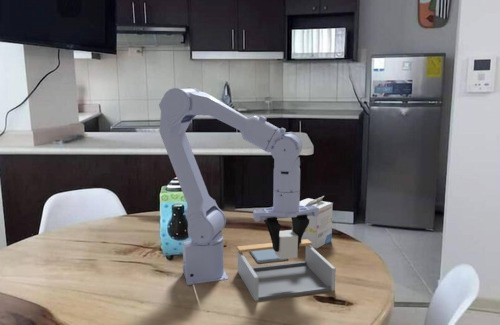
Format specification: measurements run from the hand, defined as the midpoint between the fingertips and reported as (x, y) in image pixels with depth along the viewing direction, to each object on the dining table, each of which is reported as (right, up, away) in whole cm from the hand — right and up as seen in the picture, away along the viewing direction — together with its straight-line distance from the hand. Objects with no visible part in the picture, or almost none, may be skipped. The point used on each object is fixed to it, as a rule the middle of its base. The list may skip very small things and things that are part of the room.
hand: (285, 249), depth 99 cm
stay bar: (-2, -1, +8) cm, 8 cm away
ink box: (+10, -4, +28) cm, 29 cm away
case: (0, -8, +2) cm, 8 cm away
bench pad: (-3, -5, +17) cm, 18 cm away
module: (0, -1, 0) cm, 1 cm away
